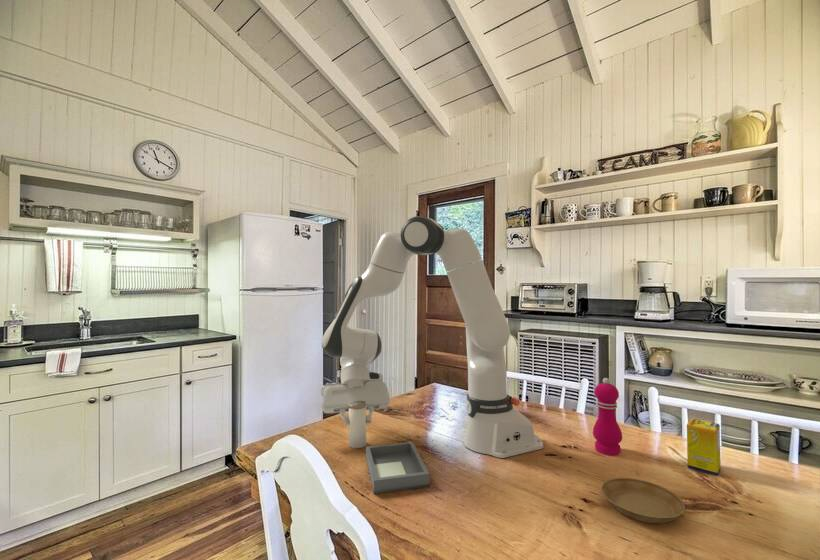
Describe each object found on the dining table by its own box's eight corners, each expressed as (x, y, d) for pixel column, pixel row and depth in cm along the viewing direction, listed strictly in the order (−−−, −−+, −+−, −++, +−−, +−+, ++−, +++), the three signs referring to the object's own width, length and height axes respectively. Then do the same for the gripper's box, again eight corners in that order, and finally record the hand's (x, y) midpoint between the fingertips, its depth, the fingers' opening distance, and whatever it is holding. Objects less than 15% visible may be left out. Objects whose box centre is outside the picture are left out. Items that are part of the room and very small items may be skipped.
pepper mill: (626, 457, 100) (625, 381, 100) (597, 455, 101) (595, 380, 102) (617, 445, 107) (616, 375, 107) (590, 444, 108) (588, 374, 109)
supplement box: (691, 459, 98) (690, 417, 98) (721, 467, 94) (720, 423, 94) (686, 468, 94) (685, 424, 94) (717, 476, 90) (716, 430, 90)
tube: (365, 440, 114) (365, 400, 114) (367, 447, 109) (367, 405, 109) (348, 441, 113) (347, 401, 113) (349, 449, 108) (348, 407, 108)
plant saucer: (585, 498, 82) (585, 486, 82) (631, 482, 88) (631, 471, 88) (653, 540, 68) (653, 526, 69) (702, 518, 74) (701, 505, 75)
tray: (412, 452, 105) (412, 441, 105) (429, 486, 87) (429, 473, 87) (365, 457, 102) (365, 446, 102) (373, 494, 85) (373, 480, 85)
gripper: (321, 378, 115) (320, 421, 106) (387, 373, 120) (392, 415, 110) (321, 389, 120) (321, 431, 110) (385, 384, 124) (390, 424, 114)
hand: (357, 423), depth 110 cm, fingers closed on tube, 5 cm apart
